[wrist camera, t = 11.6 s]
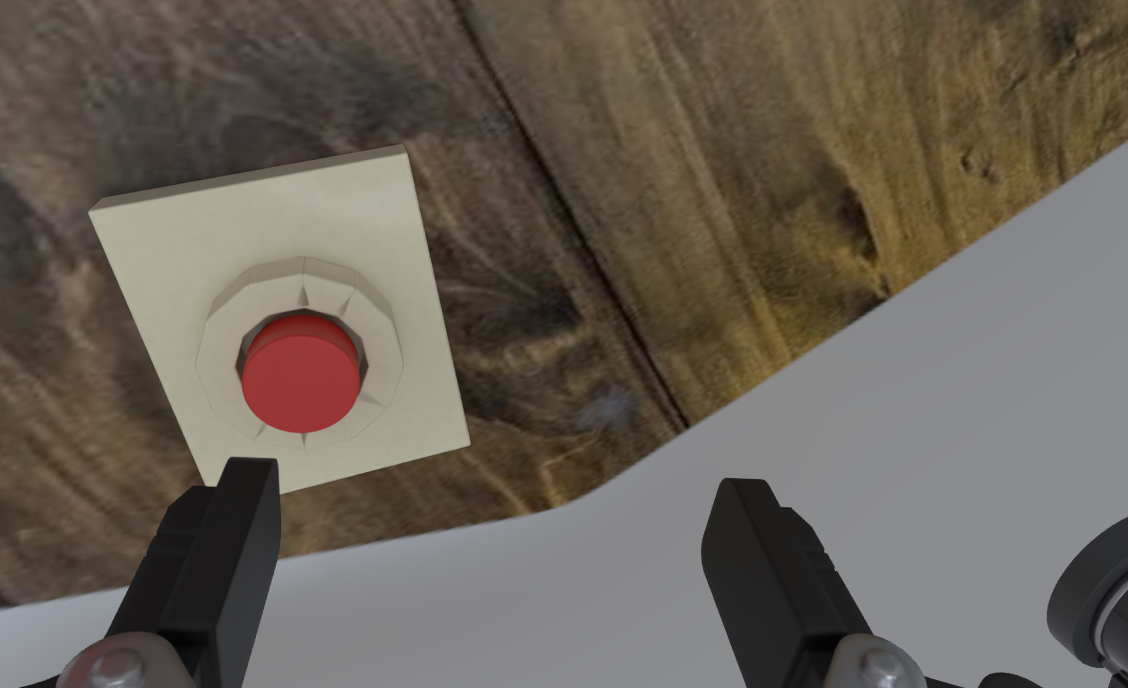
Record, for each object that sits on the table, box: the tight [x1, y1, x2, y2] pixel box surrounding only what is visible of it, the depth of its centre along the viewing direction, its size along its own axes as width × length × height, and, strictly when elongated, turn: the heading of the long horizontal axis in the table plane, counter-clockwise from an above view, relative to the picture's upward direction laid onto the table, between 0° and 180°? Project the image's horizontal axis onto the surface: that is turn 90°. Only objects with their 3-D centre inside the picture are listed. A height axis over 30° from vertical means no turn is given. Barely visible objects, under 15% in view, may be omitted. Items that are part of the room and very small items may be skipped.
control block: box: [88, 144, 471, 494], centre depth 27 cm, size 12×10×4 cm
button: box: [242, 315, 360, 433], centre depth 25 cm, size 4×4×2 cm
